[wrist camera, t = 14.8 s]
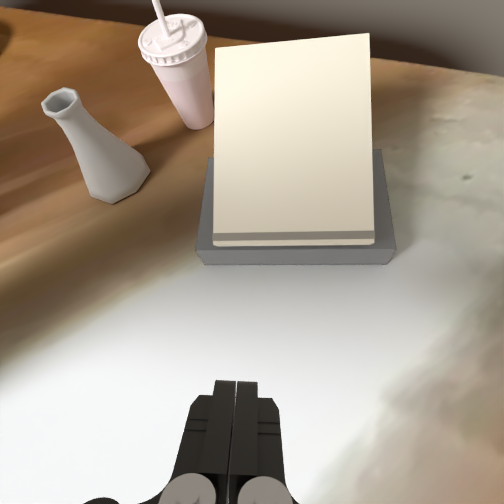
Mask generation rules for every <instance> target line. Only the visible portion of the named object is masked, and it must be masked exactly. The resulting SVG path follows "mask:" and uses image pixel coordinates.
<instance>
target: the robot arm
mask: <svg viewBox="0 0 504 504" xmlns="http://www.w3.org/2000/svg"><path fill="white" fill-rule="evenodd" d="M235 398H236V403H235ZM228 499H229V503H228ZM84 504H119V503H118V502H117V501H115V500H114V499H111V498H105V497H103V498H96V499H93V500H90V501H88V502H86V503H84ZM139 504H299V503H298V502H296V501H295V499H294V498H293V497H292V496H291V494H290V493H289V491H288V489H287V486H286V483H285V475H284V464H283V452H282V440H281V429H280V417H279V409H278V407H277V406H276V404H275V402H274V401H273V399H272V398H258V386H257V382H245V381H237V392H236V381H224V380H216V381H215V386H214V391H213V396H212V395H199V396H198V397H197V399H196V400H195V401H194V402H193V403H192V405H191V406H190V410H189V414H188V417H187V421H186V425H185V429H184V432H183V436H182V440H181V443H180V447H179V451H178V455H177V458H176V462H175V466H174V470H173V473H172V476H171V479H170V481H169V482H168V484H167V485H166V487H165V488H164V489H163V490H162V491H161V492H160V493H159V494H158V495H156V496H155V497H153V498H152V499H150V500H148V501H145V502H142V503H139Z"/></svg>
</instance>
